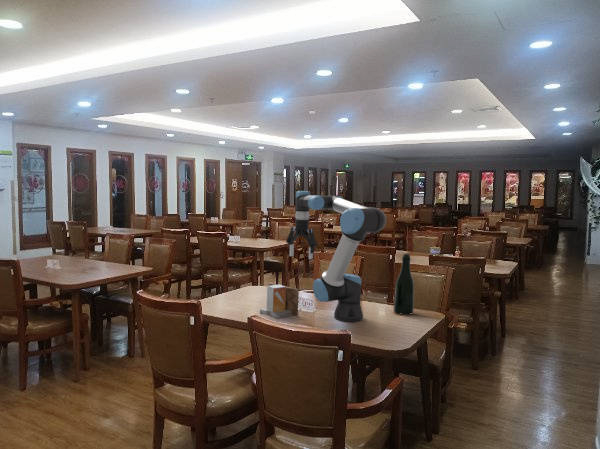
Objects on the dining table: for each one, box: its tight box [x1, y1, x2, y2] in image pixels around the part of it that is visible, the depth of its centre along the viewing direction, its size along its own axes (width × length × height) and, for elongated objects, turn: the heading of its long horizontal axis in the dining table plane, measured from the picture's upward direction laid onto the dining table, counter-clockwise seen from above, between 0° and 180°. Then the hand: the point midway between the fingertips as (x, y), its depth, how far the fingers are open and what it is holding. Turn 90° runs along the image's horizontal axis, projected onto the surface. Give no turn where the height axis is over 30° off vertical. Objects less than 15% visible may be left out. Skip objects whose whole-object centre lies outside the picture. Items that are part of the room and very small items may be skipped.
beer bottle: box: [393, 253, 415, 315], centre depth 260 cm, size 10×10×33 cm
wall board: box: [259, 282, 300, 319], centre depth 251 cm, size 20×11×14 cm, turn 51°
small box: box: [266, 284, 287, 312], centre depth 250 cm, size 8×6×13 cm
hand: (300, 257), depth 261 cm, fingers open, 13 cm apart
